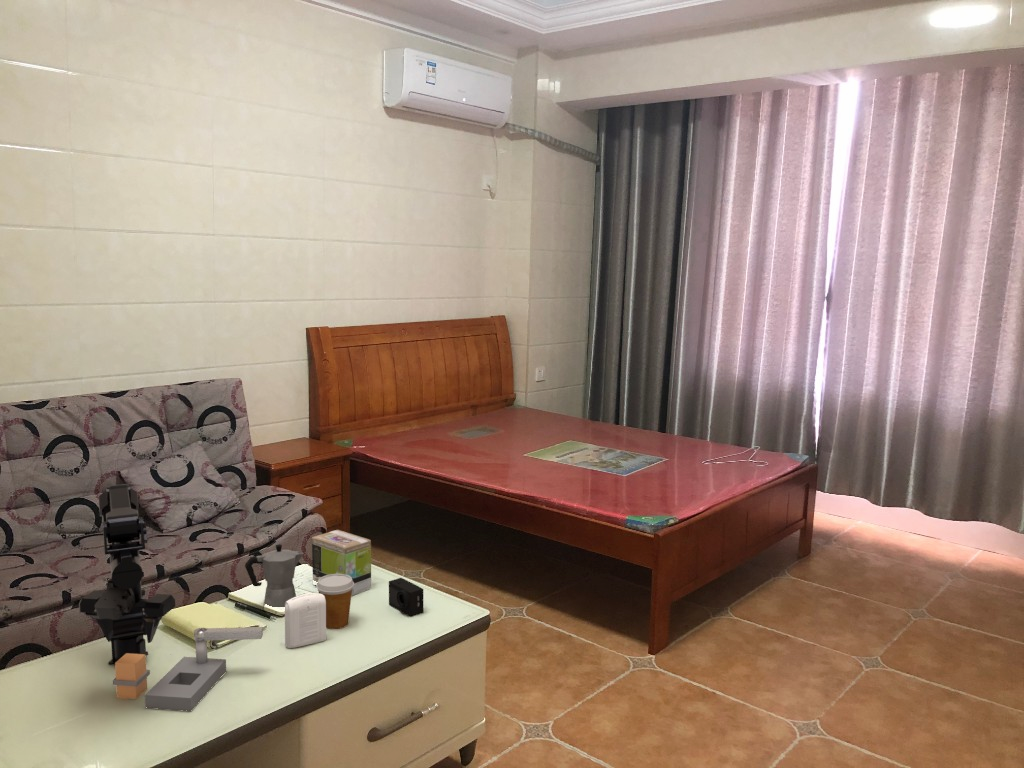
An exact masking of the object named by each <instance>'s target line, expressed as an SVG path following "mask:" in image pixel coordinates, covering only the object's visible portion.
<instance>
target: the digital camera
mask: <svg viewBox="0 0 1024 768" xmlns="http://www.w3.org/2000/svg"><path fill="white" fill-rule="evenodd" d="M388 605H389V607H392V608H394V609H396V610H397V611H399V612H400V613H402V614H404V615H405V616H408V617H410V618H412V617H416V616H418V615H421V614H424V588H422V587H420V586H418V585H417V584H414V583H412V582H410V581H409V580H406V579H405V578H403V577H399V578H396V579H395V578H394V579H392V580H389V581H388Z"/></svg>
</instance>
